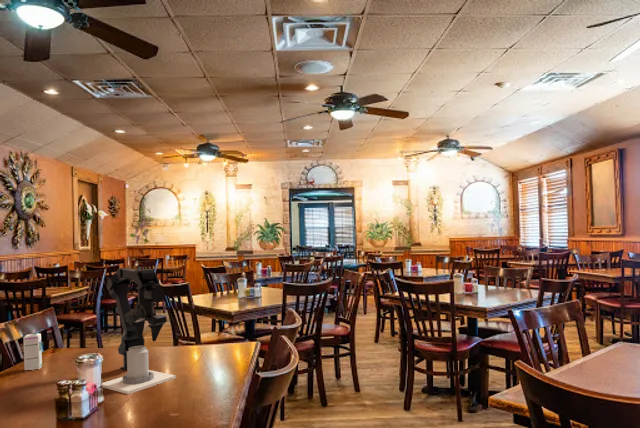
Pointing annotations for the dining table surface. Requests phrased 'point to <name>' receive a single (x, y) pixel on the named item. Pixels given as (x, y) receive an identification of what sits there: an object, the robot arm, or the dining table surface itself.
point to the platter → (137, 382)
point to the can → (137, 362)
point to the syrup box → (32, 351)
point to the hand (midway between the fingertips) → (146, 340)
